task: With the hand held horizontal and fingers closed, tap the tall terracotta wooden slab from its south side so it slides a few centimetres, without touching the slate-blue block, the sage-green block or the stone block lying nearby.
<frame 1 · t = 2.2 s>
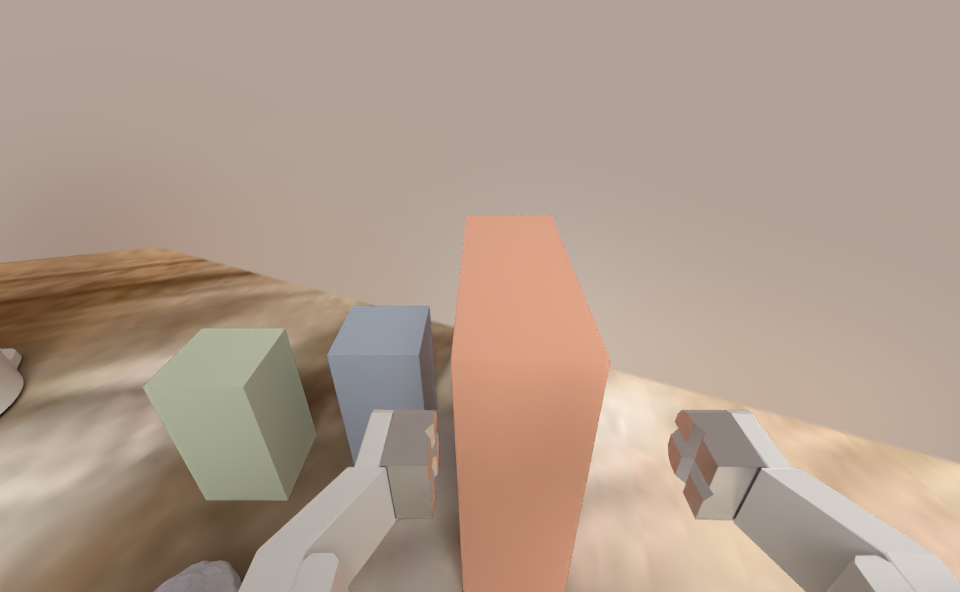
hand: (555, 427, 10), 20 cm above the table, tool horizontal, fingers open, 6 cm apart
terracotta block: (507, 477, 32), on the table
slate-blue block: (398, 434, 35), on the table
sage-green block: (265, 464, 33), on the table
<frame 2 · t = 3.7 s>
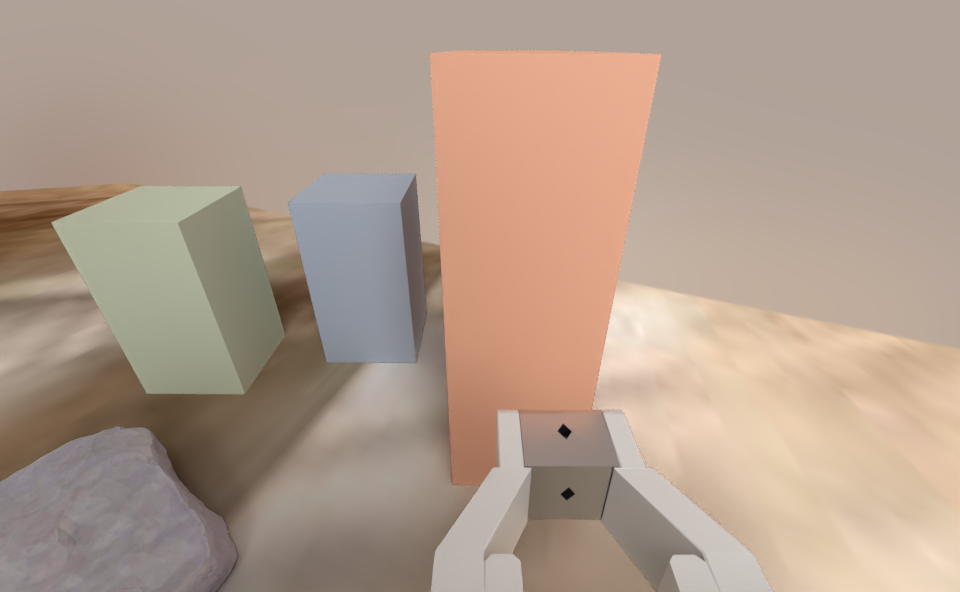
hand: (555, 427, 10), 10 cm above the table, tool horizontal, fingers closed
terracotta block: (506, 373, 27), on the table
slate-blue block: (380, 335, 30), on the table
sage-green block: (222, 361, 28), on the table
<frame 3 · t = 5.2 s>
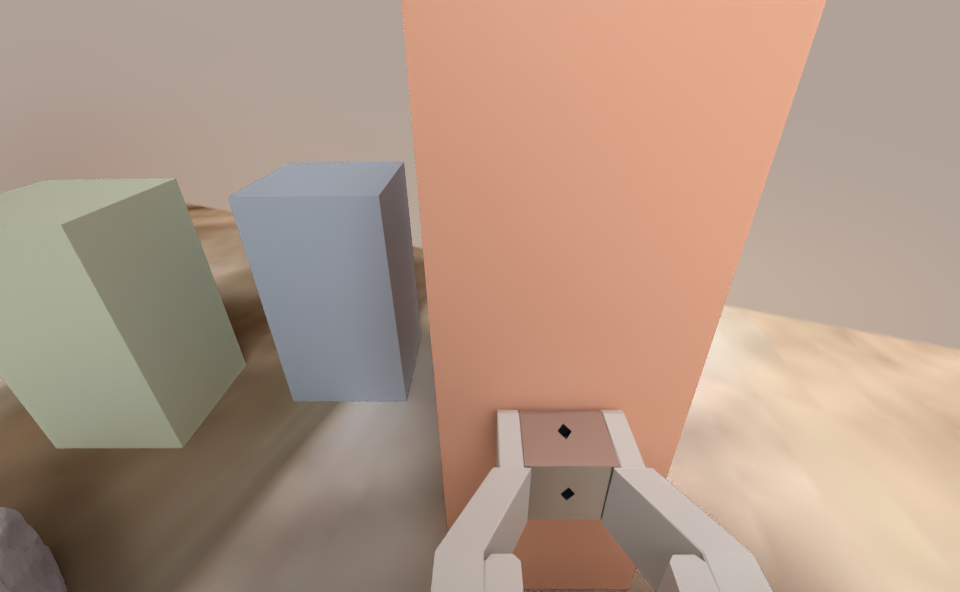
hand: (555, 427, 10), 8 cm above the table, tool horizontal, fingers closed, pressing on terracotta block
terracotta block: (522, 413, 21), on the table, touching gripper
slate-blue block: (363, 364, 25), on the table
sage-green block: (162, 401, 22), on the table
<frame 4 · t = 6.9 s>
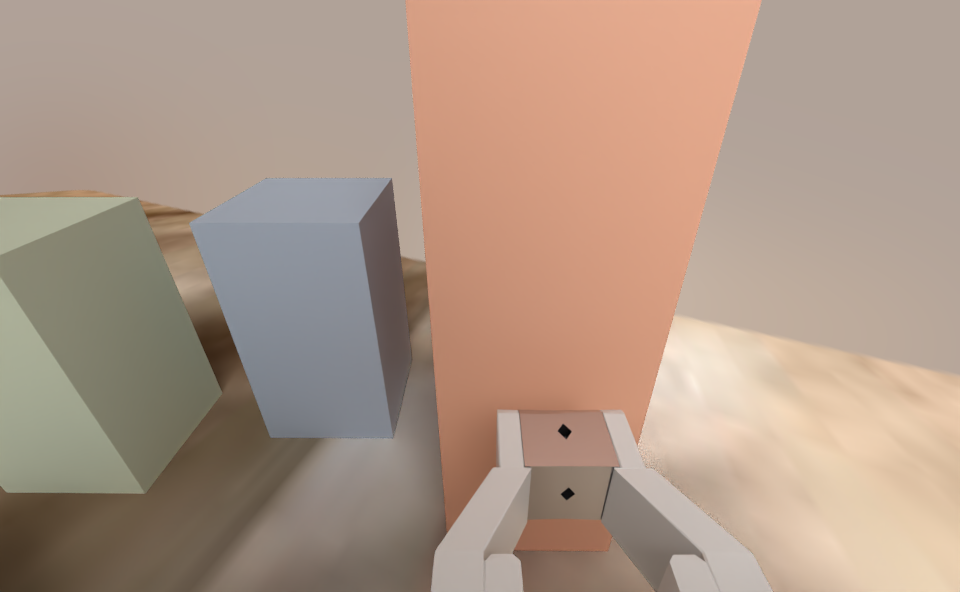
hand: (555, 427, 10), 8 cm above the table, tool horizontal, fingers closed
terracotta block: (514, 397, 22), on the table
slate-blue block: (349, 394, 23), on the table
sage-green block: (128, 436, 20), on the table
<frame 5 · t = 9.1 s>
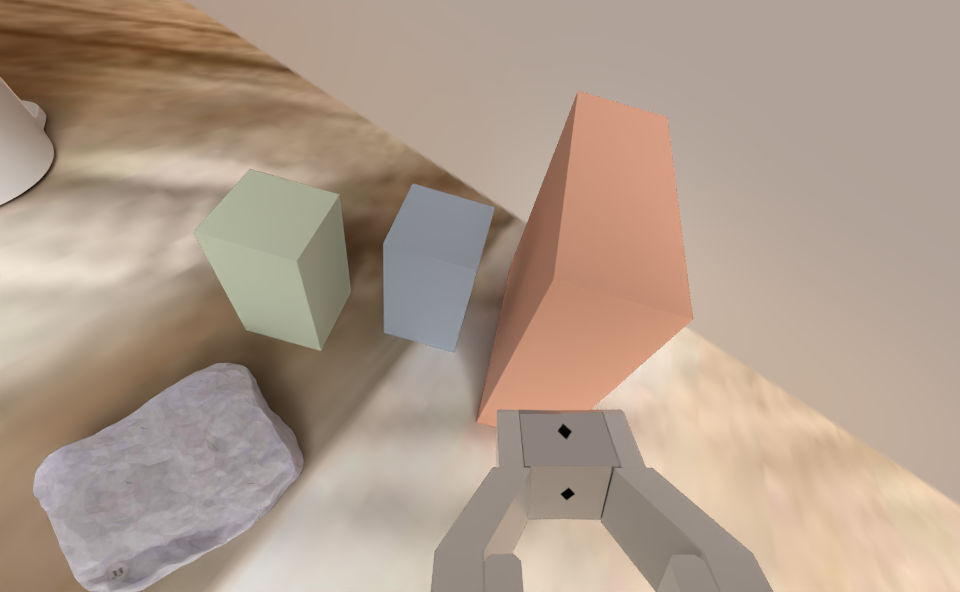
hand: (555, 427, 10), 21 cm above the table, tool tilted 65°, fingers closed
terracotta block: (528, 343, 36), on the table
stone block: (198, 482, 26), on the table
slate-blue block: (429, 313, 36), on the table
sage-green block: (301, 309, 34), on the table
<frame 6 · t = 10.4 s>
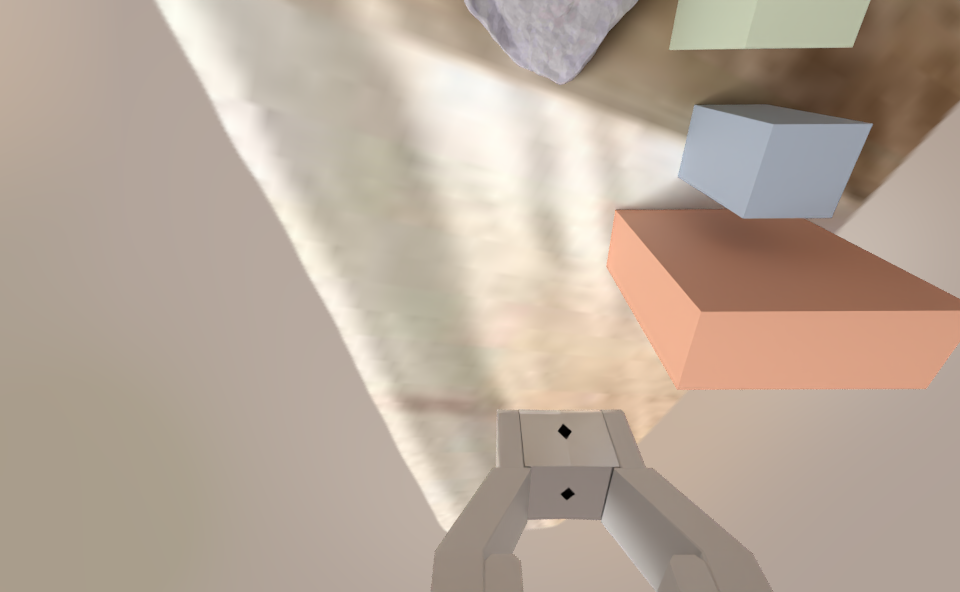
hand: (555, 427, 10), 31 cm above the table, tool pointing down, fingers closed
terracotta block: (692, 238, 41), on the table
slate-blue block: (720, 142, 36), on the table
sage-green block: (717, 3, 31), on the table
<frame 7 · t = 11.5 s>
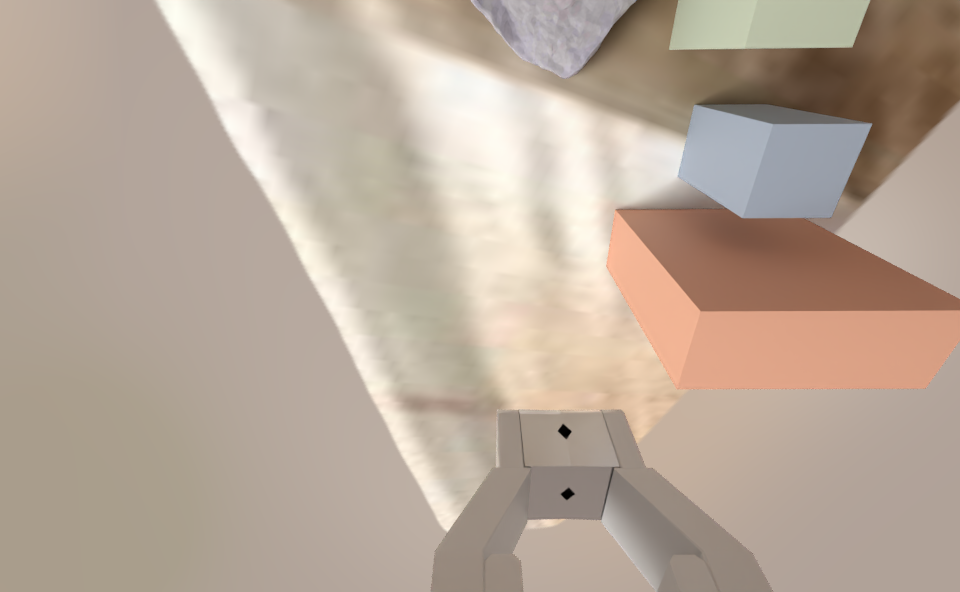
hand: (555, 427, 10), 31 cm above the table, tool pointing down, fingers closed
terracotta block: (691, 238, 41), on the table
slate-blue block: (720, 142, 36), on the table
sage-green block: (717, 3, 31), on the table
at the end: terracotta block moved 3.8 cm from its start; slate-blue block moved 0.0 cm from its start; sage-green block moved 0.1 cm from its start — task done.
